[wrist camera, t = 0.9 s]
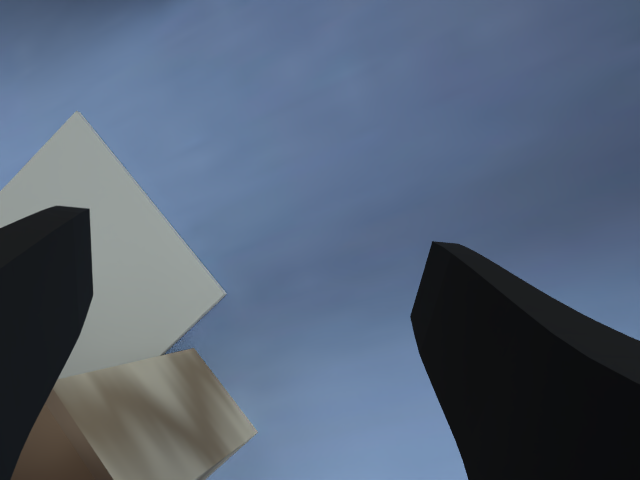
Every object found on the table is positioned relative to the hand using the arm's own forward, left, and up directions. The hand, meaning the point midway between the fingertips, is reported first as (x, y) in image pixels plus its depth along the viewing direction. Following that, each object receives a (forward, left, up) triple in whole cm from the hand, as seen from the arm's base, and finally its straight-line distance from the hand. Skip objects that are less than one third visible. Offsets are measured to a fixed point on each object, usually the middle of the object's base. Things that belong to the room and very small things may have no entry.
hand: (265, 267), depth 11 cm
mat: (+10, +12, -13) cm, 20 cm away
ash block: (+1, +12, -13) cm, 18 cm away
